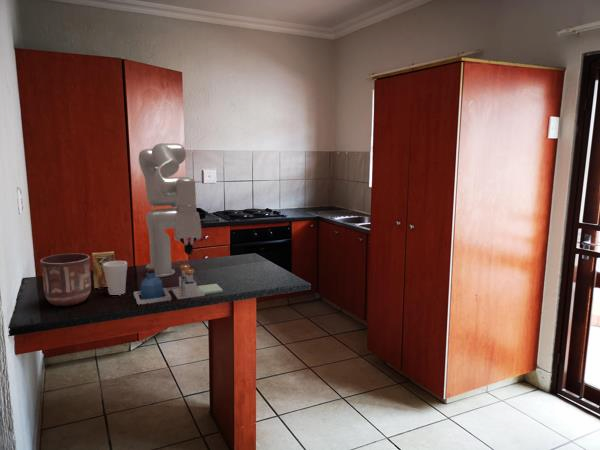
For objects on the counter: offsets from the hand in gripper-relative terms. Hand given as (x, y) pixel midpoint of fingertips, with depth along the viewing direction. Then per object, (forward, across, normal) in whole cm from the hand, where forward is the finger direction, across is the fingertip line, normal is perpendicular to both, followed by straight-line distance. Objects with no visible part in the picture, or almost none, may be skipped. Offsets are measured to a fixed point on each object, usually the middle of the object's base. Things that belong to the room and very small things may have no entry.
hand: (188, 253), depth 188 cm
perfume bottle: (+18, -15, +4) cm, 24 cm away
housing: (+18, -8, +4) cm, 20 cm away
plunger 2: (+14, 0, 0) cm, 14 cm away
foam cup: (+18, -27, +17) cm, 37 cm away
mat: (+18, +9, +5) cm, 21 cm away
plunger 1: (+14, 0, +8) cm, 16 cm away
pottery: (+18, -45, +13) cm, 50 cm away
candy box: (+18, -31, +29) cm, 46 cm away
